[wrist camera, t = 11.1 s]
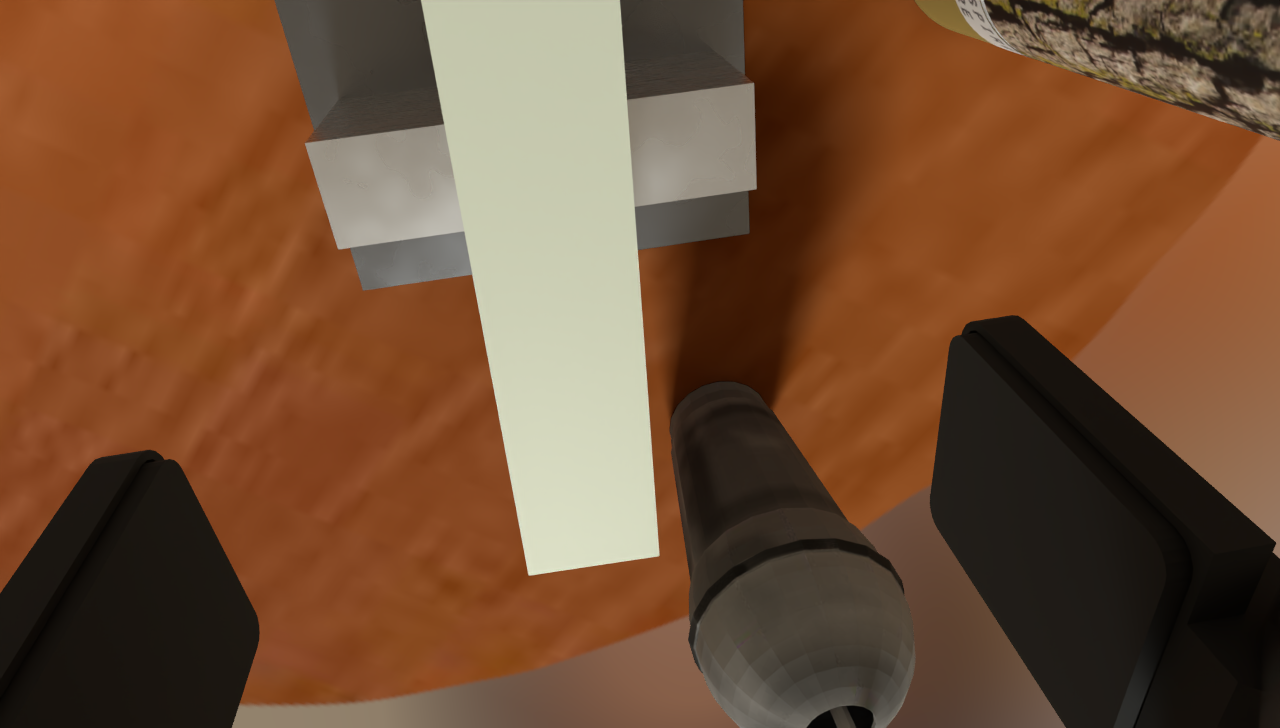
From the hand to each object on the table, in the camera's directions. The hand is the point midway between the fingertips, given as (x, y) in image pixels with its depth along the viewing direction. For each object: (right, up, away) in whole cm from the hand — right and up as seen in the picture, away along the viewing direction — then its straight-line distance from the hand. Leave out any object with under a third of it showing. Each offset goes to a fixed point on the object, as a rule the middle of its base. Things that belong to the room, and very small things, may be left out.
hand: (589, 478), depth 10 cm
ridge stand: (-3, +10, +18) cm, 21 cm away
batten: (-2, +7, +12) cm, 14 cm away
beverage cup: (+4, -1, +27) cm, 27 cm away
